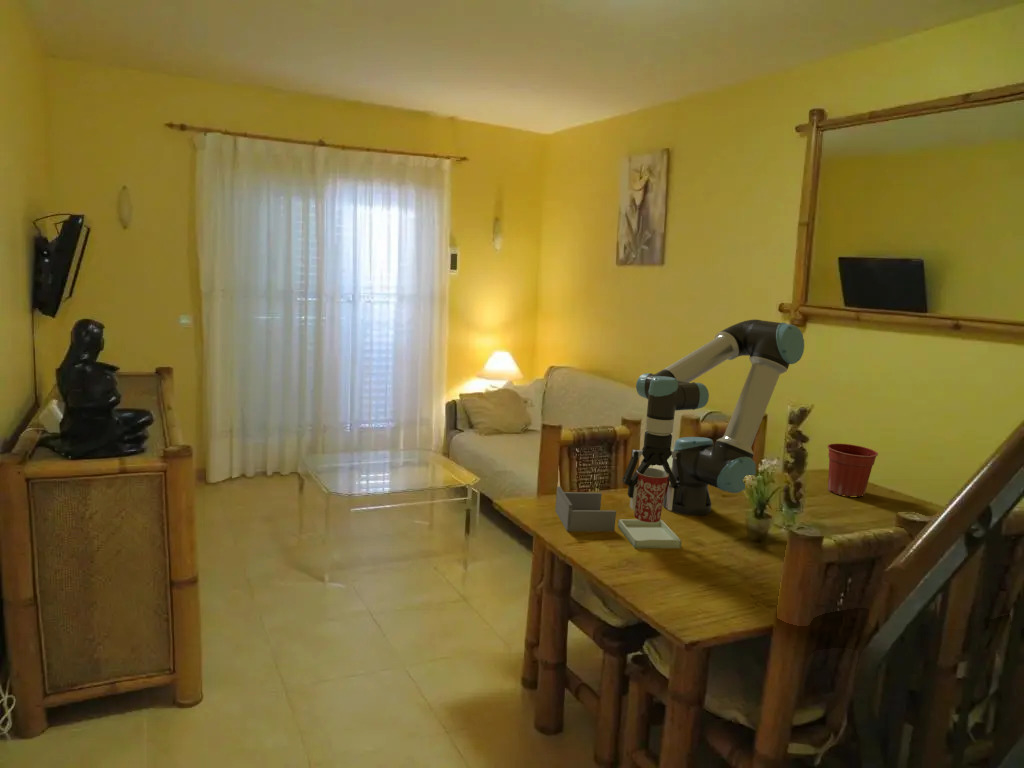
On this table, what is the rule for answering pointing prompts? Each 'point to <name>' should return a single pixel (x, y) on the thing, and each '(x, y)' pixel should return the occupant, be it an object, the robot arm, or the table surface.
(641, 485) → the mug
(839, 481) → the flower pot
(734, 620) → the table surface
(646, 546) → the tray
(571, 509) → the bay
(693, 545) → the table surface
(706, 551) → the table surface
